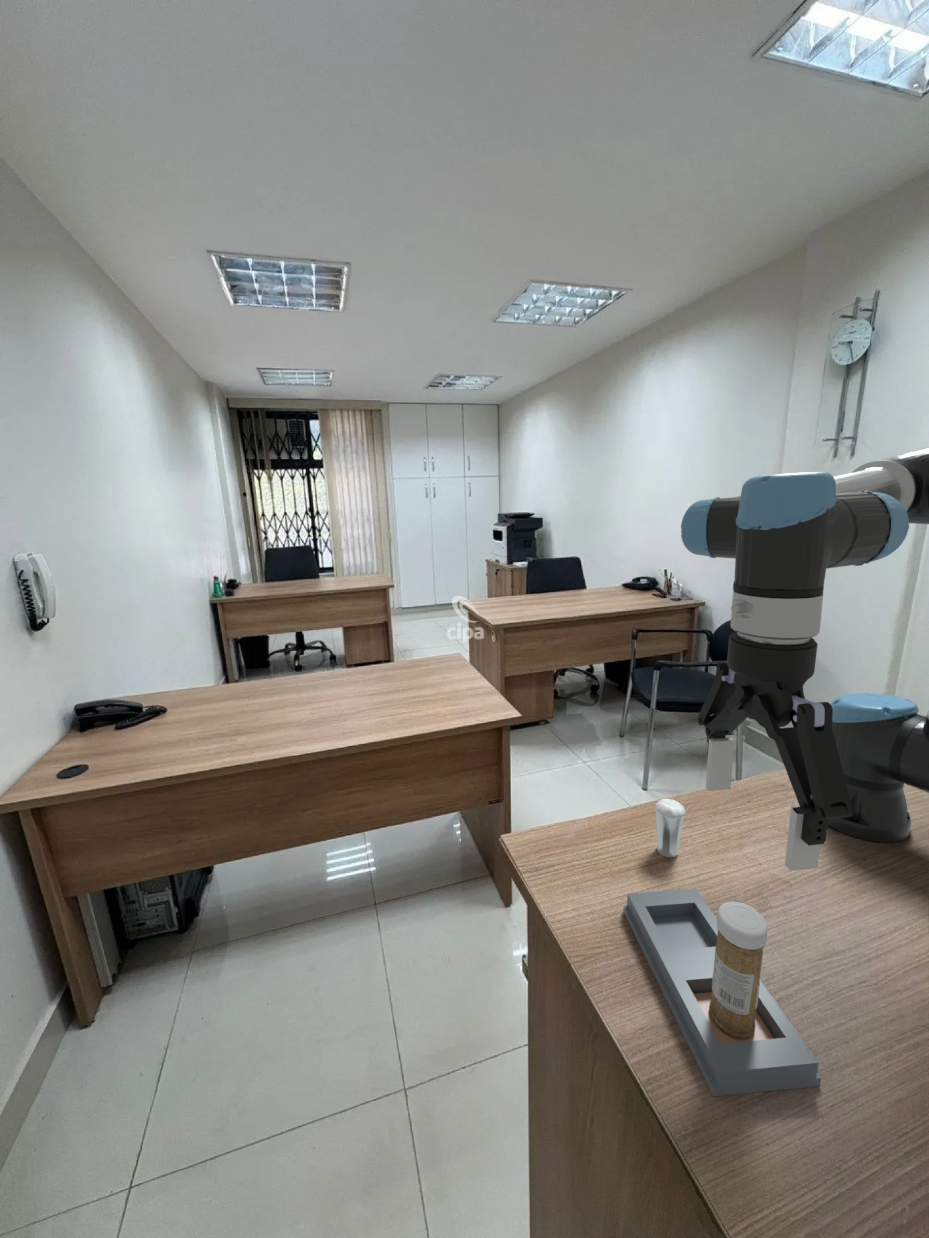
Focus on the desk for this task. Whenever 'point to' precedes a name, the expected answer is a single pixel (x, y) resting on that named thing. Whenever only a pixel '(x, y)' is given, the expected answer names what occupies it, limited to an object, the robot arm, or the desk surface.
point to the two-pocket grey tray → (683, 967)
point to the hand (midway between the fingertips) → (754, 823)
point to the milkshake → (669, 826)
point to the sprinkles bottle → (737, 968)
